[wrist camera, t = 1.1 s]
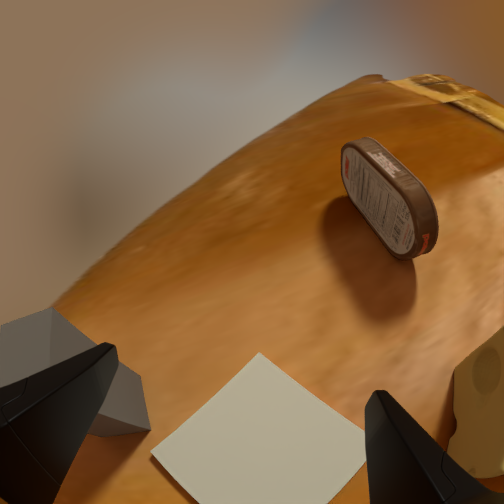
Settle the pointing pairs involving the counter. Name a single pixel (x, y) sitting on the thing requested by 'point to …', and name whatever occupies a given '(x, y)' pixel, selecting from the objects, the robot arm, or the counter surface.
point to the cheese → (480, 410)
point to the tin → (389, 198)
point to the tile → (263, 443)
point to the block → (64, 347)
